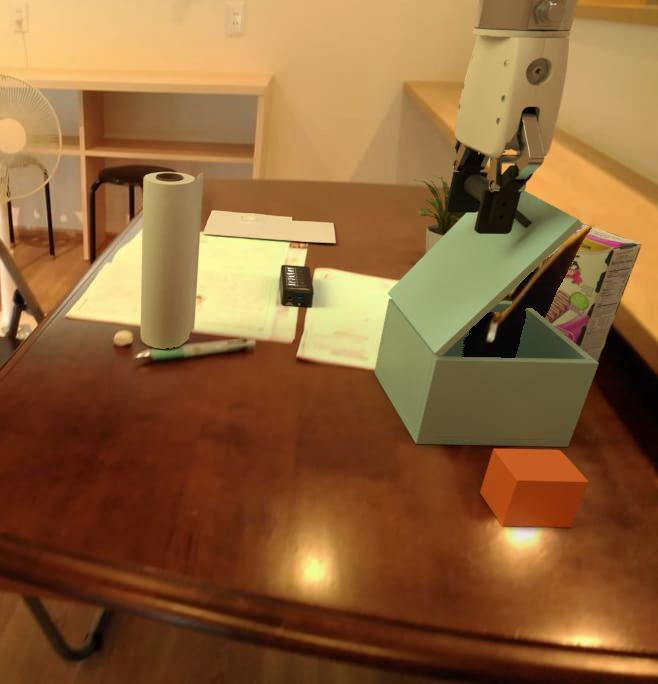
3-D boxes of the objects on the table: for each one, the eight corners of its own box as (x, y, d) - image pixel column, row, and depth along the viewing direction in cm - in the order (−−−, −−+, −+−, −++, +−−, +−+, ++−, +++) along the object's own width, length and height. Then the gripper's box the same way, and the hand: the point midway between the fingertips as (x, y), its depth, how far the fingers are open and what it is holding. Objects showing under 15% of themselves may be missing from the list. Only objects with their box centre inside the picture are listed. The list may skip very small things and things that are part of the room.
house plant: (420, 285, 108) (443, 182, 101) (377, 255, 120) (394, 161, 113) (500, 280, 111) (528, 179, 103) (450, 251, 123) (472, 159, 116)
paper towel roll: (139, 349, 87) (143, 181, 77) (140, 328, 92) (143, 169, 82) (196, 351, 87) (207, 183, 77) (194, 330, 92) (203, 170, 82)
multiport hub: (307, 279, 109) (309, 266, 108) (312, 307, 100) (314, 293, 99) (279, 277, 110) (281, 264, 109) (281, 305, 100) (283, 290, 99)
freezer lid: (505, 182, 72) (468, 148, 71) (583, 224, 59) (540, 184, 58) (391, 296, 78) (355, 268, 77) (440, 357, 65) (397, 324, 64)
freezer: (502, 375, 83) (524, 301, 78) (568, 447, 70) (599, 363, 66) (373, 373, 83) (388, 298, 78) (415, 444, 70) (436, 359, 65)
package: (544, 493, 63) (560, 449, 61) (570, 527, 59) (589, 481, 57) (479, 492, 63) (493, 448, 61) (501, 526, 59) (517, 480, 57)
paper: (202, 236, 127) (202, 230, 127) (208, 210, 142) (208, 205, 142) (340, 245, 124) (340, 240, 124) (331, 218, 139) (332, 213, 139)
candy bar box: (496, 335, 93) (530, 217, 85) (524, 330, 94) (559, 214, 87) (569, 374, 84) (614, 246, 76) (598, 368, 85) (645, 241, 78)
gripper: (630, 21, 51) (562, 252, 59) (519, 14, 66) (477, 198, 74) (529, 20, 51) (474, 251, 59) (441, 14, 66) (407, 198, 74)
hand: (476, 220), depth 67 cm, fingers closed on freezer lid, 6 cm apart
